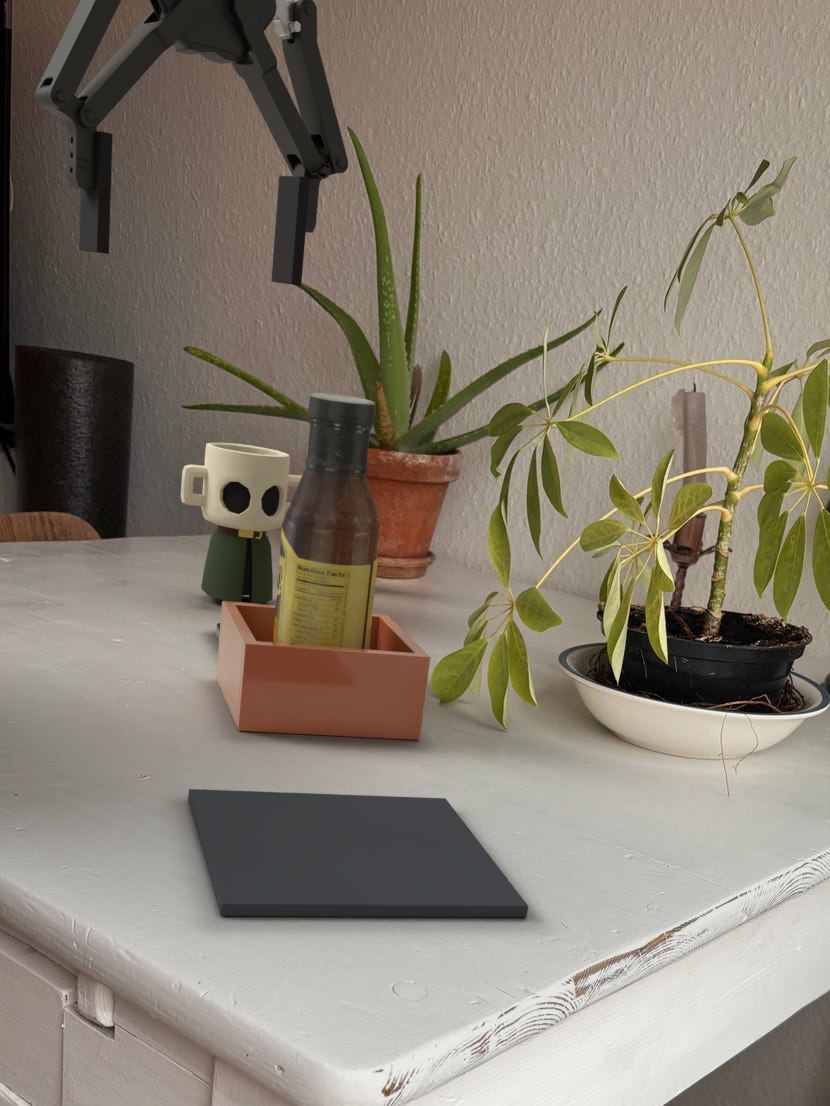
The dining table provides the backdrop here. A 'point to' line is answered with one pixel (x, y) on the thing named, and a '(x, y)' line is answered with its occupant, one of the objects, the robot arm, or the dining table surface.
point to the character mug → (240, 516)
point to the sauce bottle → (330, 533)
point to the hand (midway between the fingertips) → (194, 269)
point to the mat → (346, 857)
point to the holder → (320, 679)
